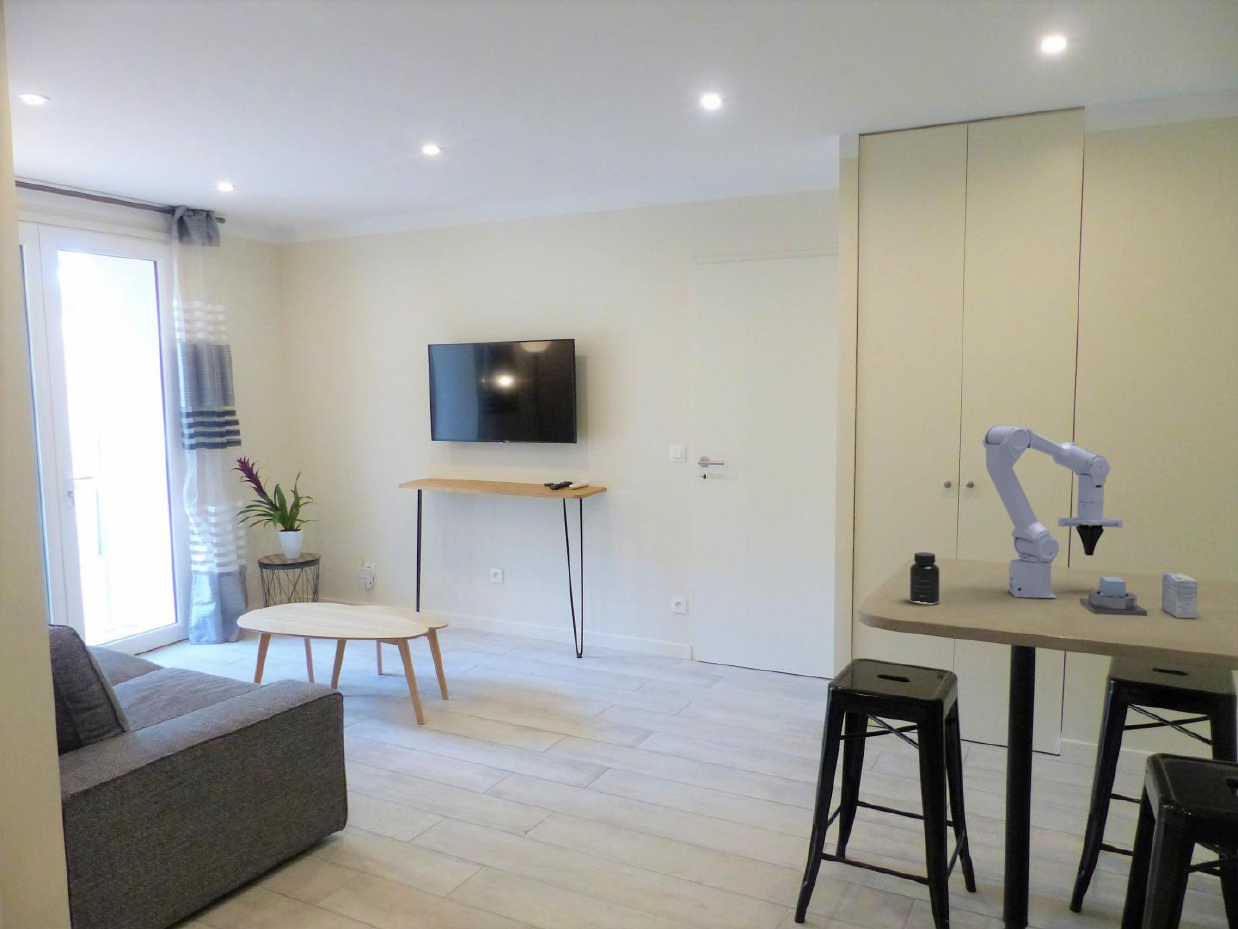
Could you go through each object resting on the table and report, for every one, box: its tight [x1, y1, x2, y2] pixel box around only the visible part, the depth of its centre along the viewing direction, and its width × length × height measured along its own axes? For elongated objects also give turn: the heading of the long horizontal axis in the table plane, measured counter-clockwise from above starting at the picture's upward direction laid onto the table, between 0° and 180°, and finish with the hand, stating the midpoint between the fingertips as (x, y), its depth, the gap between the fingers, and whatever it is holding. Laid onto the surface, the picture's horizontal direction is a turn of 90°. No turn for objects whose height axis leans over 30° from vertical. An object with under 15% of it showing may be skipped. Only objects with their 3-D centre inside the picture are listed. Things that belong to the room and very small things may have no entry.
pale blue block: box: [1099, 576, 1127, 597], centre depth 204 cm, size 5×5×6 cm
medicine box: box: [1161, 573, 1199, 619], centre depth 199 cm, size 8×4×9 cm, turn 168°
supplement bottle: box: [909, 551, 940, 603], centre depth 213 cm, size 7×7×12 cm
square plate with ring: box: [1078, 588, 1148, 616], centre depth 205 cm, size 11×11×4 cm
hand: (1088, 554), depth 221 cm, fingers closed
